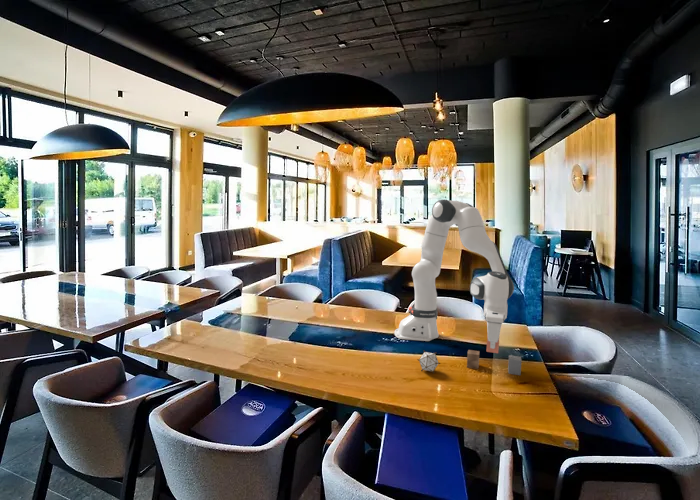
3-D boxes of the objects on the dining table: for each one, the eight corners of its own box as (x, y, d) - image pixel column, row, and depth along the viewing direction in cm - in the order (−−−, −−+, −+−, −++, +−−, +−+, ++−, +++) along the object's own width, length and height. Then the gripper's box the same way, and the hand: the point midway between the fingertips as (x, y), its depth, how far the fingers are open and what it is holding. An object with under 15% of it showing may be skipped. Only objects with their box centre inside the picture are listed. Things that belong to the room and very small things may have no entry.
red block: (486, 351, 159) (487, 337, 158) (486, 347, 163) (487, 333, 162) (498, 353, 157) (499, 338, 157) (498, 349, 162) (499, 335, 161)
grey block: (508, 373, 157) (509, 359, 156) (508, 369, 161) (508, 355, 161) (520, 375, 156) (521, 360, 155) (520, 370, 160) (520, 356, 159)
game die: (423, 378, 160) (413, 355, 164) (442, 371, 160) (432, 347, 164) (424, 376, 152) (414, 351, 156) (445, 368, 152) (434, 344, 156)
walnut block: (466, 367, 163) (467, 353, 162) (467, 363, 167) (468, 349, 166) (478, 369, 161) (478, 355, 160) (478, 364, 165) (479, 351, 165)
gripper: (488, 305, 169) (485, 336, 171) (485, 318, 150) (483, 352, 152) (503, 307, 167) (501, 338, 168) (503, 320, 148) (500, 355, 150)
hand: (492, 345), depth 160 cm, fingers closed on red block, 4 cm apart
